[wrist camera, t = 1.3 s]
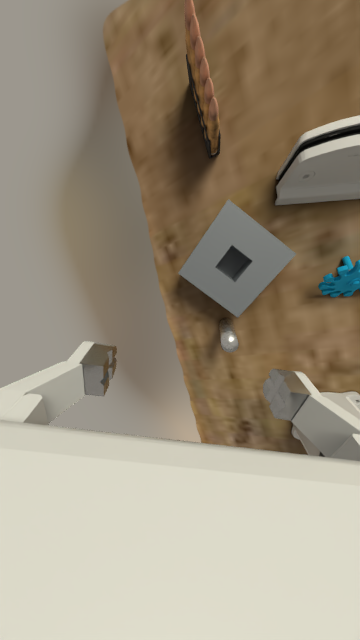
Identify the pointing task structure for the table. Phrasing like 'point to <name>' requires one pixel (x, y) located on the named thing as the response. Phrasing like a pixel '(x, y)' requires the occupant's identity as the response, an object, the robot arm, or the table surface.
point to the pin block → (235, 260)
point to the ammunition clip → (201, 82)
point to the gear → (342, 280)
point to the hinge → (322, 165)
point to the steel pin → (228, 335)
